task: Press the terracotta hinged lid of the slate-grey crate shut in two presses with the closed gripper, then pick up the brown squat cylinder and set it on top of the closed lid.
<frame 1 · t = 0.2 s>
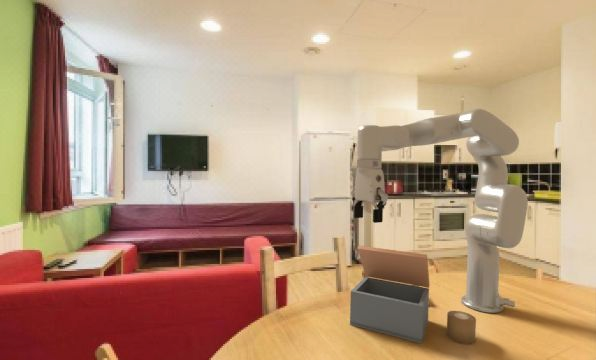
hand: (367, 219, 97), 30 cm above the table, tool pointing down, fingers open, 9 cm apart
brown squat cylinder: (460, 337, 86), on the table
crate: (389, 322, 93), on the table
carton: (399, 300, 112), on the table
lid: (393, 266, 96), point 16 cm above the table, hinge at 50.0°
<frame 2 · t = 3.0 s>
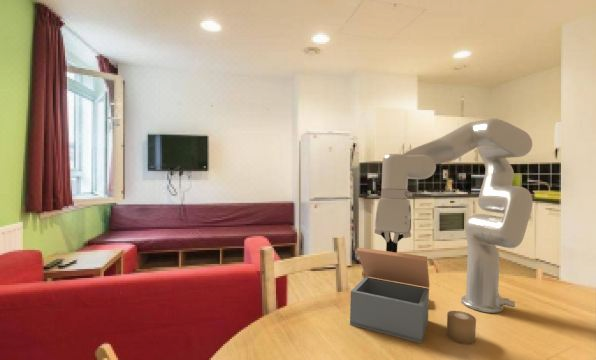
hand: (391, 254, 94), 20 cm above the table, tool pointing down, fingers closed
lid: (393, 267, 96), point 16 cm above the table, hinge at 47.1°, touching gripper
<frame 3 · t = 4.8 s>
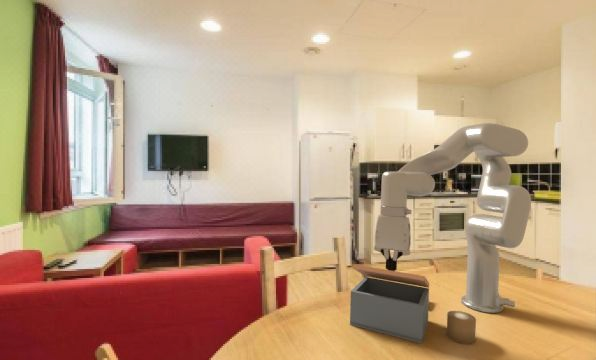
hand: (391, 271, 94), 15 cm above the table, tool pointing down, fingers closed
lid: (391, 276, 94), point 14 cm above the table, hinge at 24.7°
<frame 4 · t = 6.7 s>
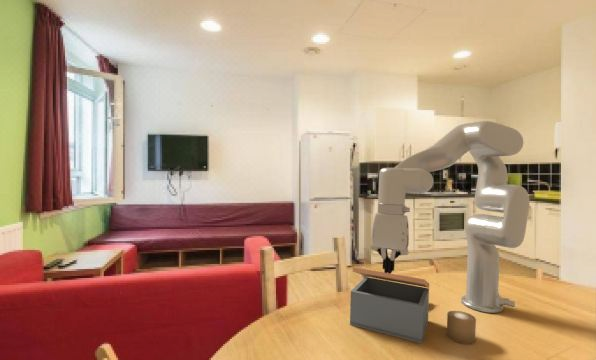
hand: (388, 272, 91), 16 cm above the table, tool pointing down, fingers closed
lid: (391, 277, 94), point 13 cm above the table, hinge at 21.4°, touching gripper
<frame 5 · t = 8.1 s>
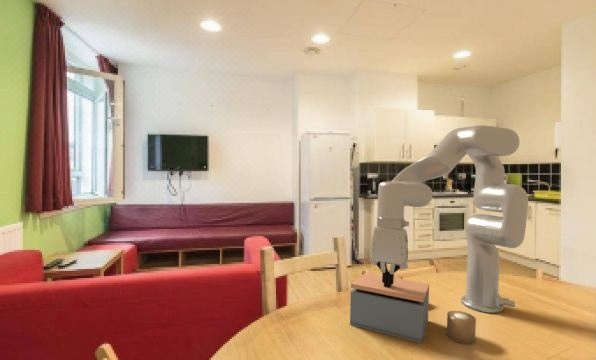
hand: (387, 285, 91), 12 cm above the table, tool pointing down, fingers closed
lid: (390, 285, 93), point 11 cm above the table, hinge at 3.3°, touching gripper
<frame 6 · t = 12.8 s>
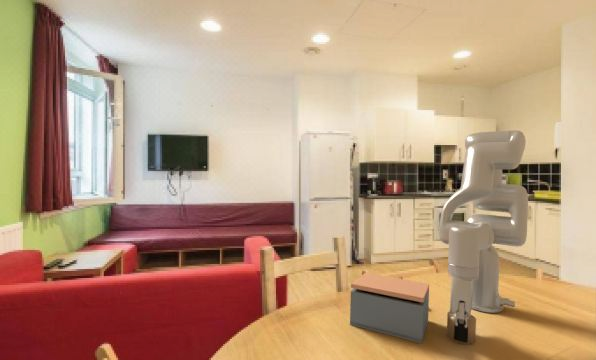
hand: (460, 333, 86), 1 cm above the table, tool pointing down, fingers closed on brown squat cylinder, 7 cm apart
brown squat cylinder: (460, 337, 86), on the table, touching gripper
lid: (390, 285, 93), point 11 cm above the table, hinge at 3.1°
when the fingers open (14 cm above the table, at t = 17.8 s): brown squat cylinder drops 1 cm, resting on lid.
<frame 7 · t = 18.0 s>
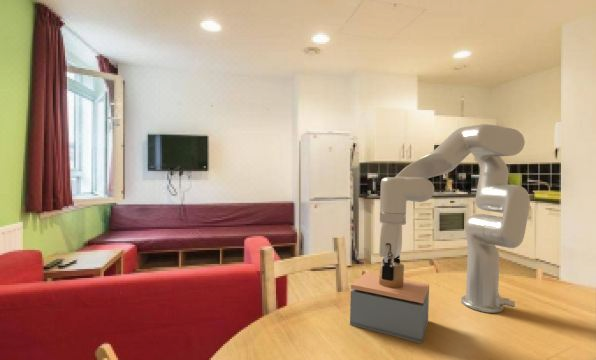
hand: (391, 275, 93), 14 cm above the table, tool pointing down, fingers open, 9 cm apart
brown squat cylinder: (391, 284, 93), point 12 cm above the table, touching lid
lid: (390, 286, 93), point 11 cm above the table, hinge at 2.2°, touching brown squat cylinder
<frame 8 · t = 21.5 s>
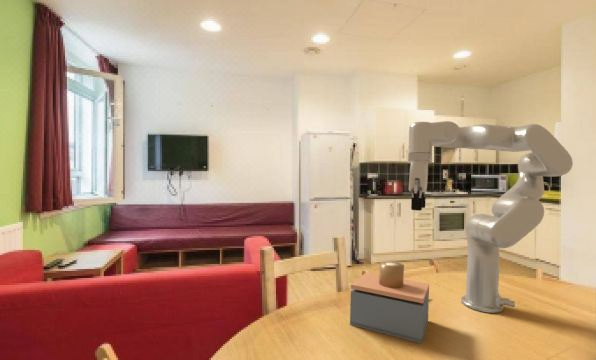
hand: (418, 208, 106), 33 cm above the table, tool pointing down, fingers open, 9 cm apart
at the end: lid at +2° (first picture: +50°); brown squat cylinder inside the target area on the crate (0.1 cm from its centre), point 11.7 cm above the crate's base; brown squat cylinder tilted 2° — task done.
